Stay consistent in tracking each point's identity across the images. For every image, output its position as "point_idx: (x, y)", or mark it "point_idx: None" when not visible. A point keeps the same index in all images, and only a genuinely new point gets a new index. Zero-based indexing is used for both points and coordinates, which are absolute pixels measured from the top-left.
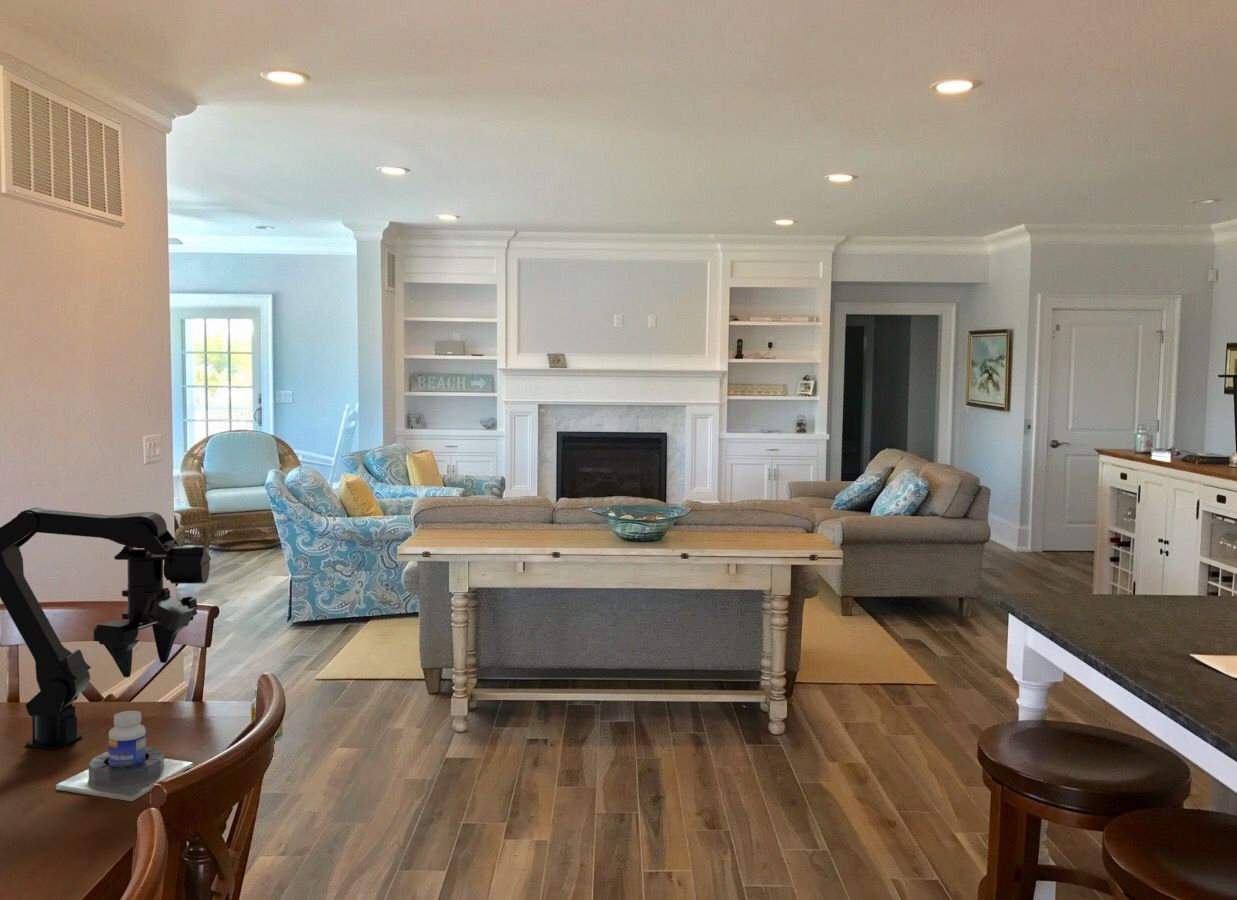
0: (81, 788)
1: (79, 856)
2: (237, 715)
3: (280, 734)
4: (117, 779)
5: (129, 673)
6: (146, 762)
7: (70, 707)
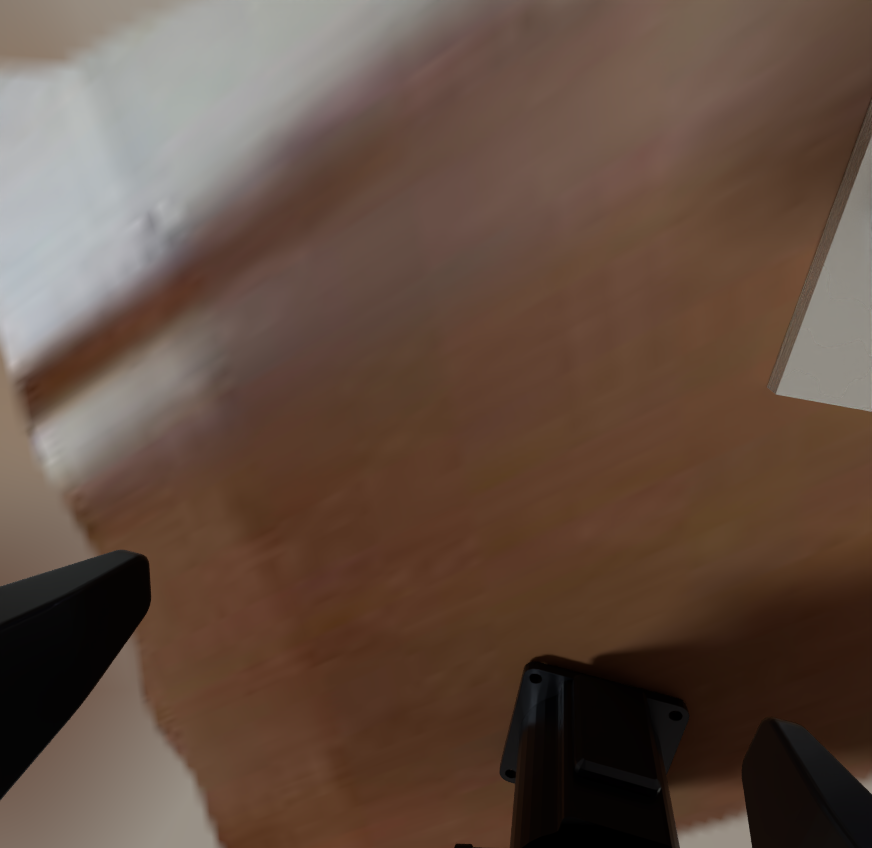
0: None
1: None
2: (89, 106)
3: None
4: None
5: (817, 758)
6: None
7: (584, 832)
